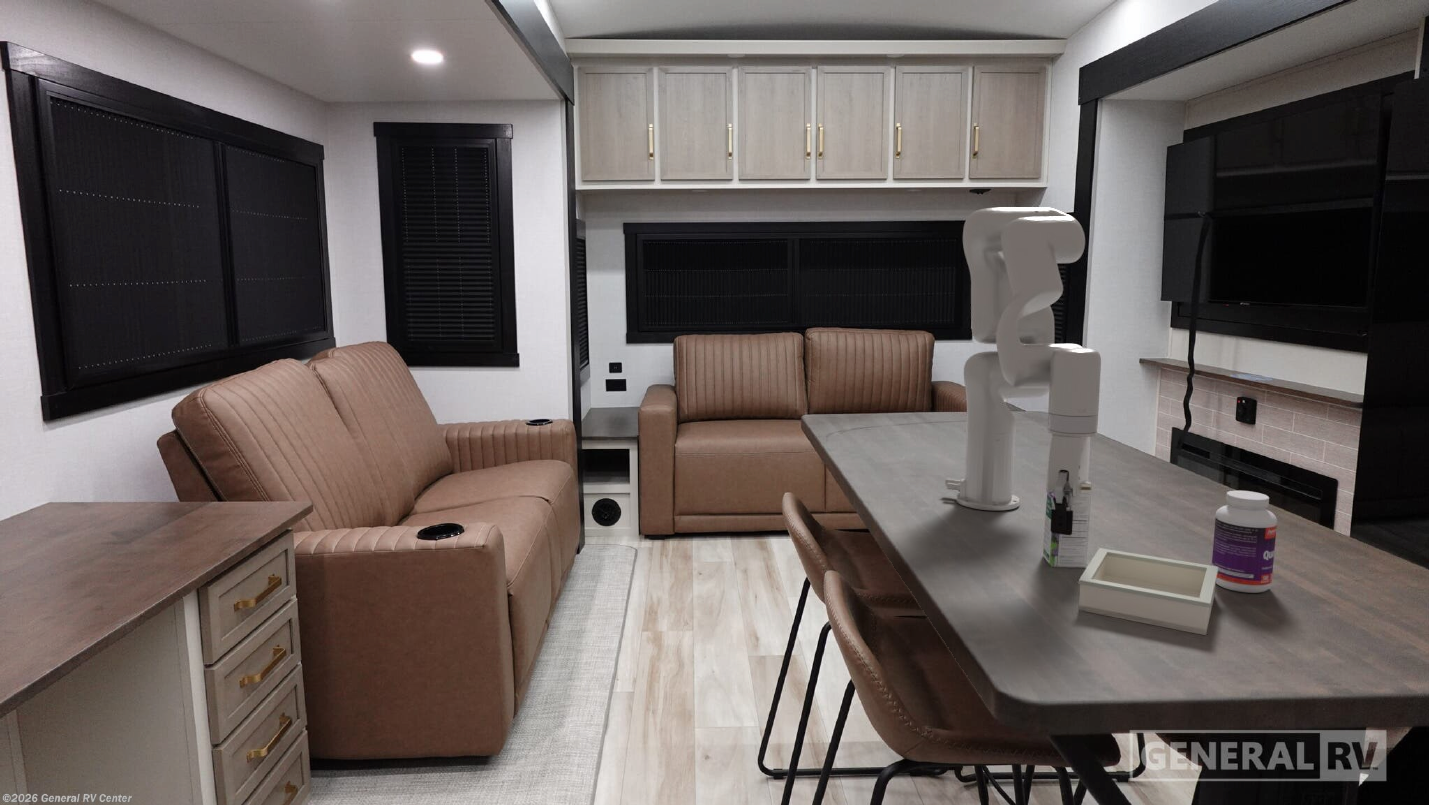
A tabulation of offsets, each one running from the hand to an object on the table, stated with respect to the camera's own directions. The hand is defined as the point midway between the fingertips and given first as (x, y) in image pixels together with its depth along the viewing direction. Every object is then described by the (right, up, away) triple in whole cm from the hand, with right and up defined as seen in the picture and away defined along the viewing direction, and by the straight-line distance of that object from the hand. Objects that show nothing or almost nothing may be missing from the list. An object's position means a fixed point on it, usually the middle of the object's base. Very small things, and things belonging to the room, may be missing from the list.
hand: (1067, 526), depth 142 cm
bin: (+5, -9, -16) cm, 19 cm away
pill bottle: (+23, -8, -10) cm, 26 cm away
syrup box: (0, -6, +1) cm, 7 cm away
